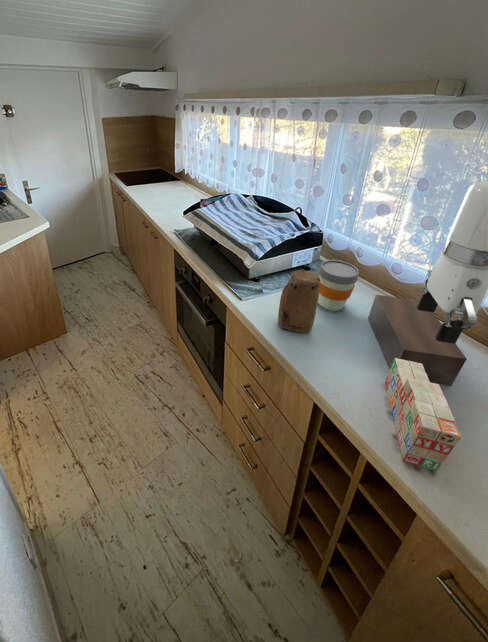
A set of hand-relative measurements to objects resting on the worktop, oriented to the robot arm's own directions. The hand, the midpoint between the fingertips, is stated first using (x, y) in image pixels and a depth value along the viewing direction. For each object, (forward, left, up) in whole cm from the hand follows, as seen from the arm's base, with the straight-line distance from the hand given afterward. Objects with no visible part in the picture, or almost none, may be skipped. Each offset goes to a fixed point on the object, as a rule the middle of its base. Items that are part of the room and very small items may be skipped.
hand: (434, 324), depth 63 cm
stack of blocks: (-1, +3, -26) cm, 27 cm away
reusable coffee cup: (+9, -42, -26) cm, 50 cm away
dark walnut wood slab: (-9, -23, -26) cm, 36 cm away
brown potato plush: (+23, -26, -26) cm, 43 cm away
